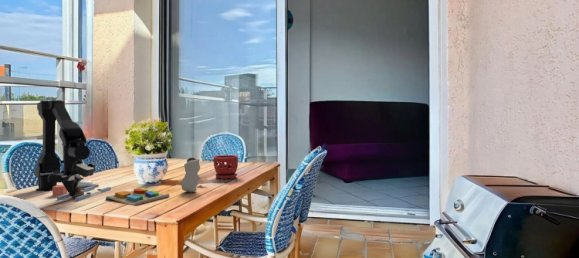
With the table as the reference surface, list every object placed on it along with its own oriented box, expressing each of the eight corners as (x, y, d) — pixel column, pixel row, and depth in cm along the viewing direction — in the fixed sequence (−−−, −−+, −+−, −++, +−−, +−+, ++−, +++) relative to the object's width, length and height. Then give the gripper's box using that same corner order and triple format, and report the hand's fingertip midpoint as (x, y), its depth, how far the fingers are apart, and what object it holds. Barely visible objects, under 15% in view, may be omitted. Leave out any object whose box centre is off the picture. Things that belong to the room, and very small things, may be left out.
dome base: (71, 189, 169) (70, 187, 169) (83, 185, 177) (82, 183, 177) (87, 190, 168) (87, 188, 168) (98, 186, 176) (98, 184, 176)
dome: (73, 187, 170) (73, 182, 170) (83, 184, 176) (83, 180, 176) (86, 188, 169) (86, 183, 169) (96, 185, 175) (95, 180, 175)
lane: (57, 199, 150) (56, 195, 150) (91, 188, 170) (91, 185, 170) (78, 200, 148) (78, 196, 148) (110, 189, 169) (110, 186, 169)
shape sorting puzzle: (135, 207, 142) (135, 198, 142) (104, 200, 151) (104, 192, 151) (171, 198, 157) (171, 189, 157) (140, 192, 166) (140, 185, 166)
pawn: (69, 197, 153) (69, 188, 153) (77, 195, 157) (77, 186, 157) (78, 198, 152) (78, 188, 152) (86, 196, 157) (86, 186, 156)
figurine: (204, 190, 170) (204, 157, 169) (190, 195, 161) (190, 160, 160) (189, 188, 173) (189, 156, 173) (174, 193, 164) (174, 159, 164)
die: (52, 196, 156) (52, 186, 155) (57, 194, 159) (57, 184, 159) (62, 196, 156) (62, 186, 156) (67, 194, 160) (67, 184, 160)
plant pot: (241, 176, 208) (241, 154, 207) (232, 180, 195) (232, 157, 194) (219, 175, 211) (219, 153, 210) (209, 179, 198) (209, 156, 197)
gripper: (73, 161, 140) (73, 202, 141) (104, 155, 159) (104, 192, 160) (46, 160, 142) (47, 201, 143) (80, 154, 160) (81, 190, 161)
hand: (72, 196), depth 152 cm, fingers closed
